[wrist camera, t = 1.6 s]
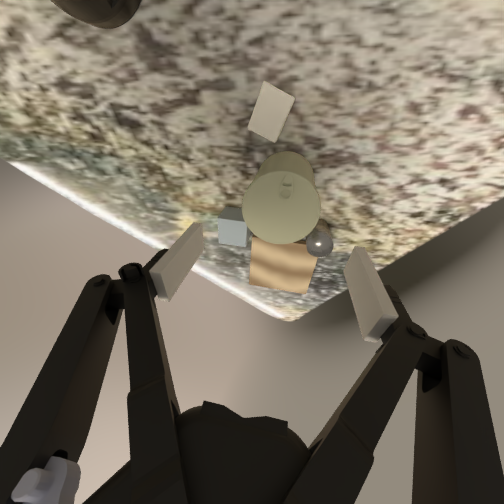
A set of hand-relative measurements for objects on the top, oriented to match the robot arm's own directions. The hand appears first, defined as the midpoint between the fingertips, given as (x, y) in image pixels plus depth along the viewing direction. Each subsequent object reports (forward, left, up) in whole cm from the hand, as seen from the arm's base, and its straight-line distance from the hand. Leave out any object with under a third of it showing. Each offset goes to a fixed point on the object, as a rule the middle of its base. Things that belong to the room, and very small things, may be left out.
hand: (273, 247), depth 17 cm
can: (0, 0, -19) cm, 19 cm away
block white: (-9, -3, -19) cm, 21 cm away
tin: (+7, +7, -19) cm, 21 cm away
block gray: (+8, -7, -19) cm, 22 cm away
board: (+17, +2, -18) cm, 25 cm away
